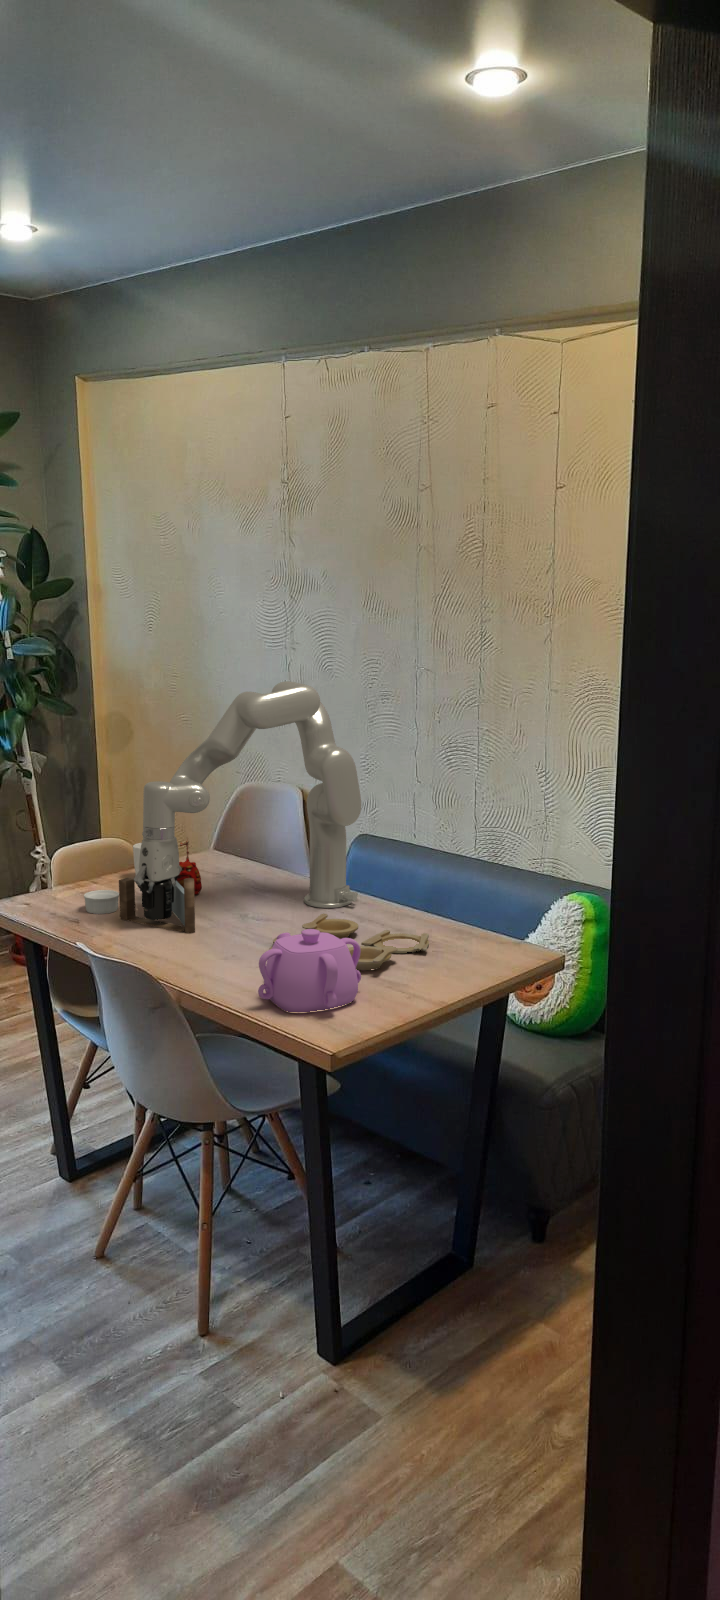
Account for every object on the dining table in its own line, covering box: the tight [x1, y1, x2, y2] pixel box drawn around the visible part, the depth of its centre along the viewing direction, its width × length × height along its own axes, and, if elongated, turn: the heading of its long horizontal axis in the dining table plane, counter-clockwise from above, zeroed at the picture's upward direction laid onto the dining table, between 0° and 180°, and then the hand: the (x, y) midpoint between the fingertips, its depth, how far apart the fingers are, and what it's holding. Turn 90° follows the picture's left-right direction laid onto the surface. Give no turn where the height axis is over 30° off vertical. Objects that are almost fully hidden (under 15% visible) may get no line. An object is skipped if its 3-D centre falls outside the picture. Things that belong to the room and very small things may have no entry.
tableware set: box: [268, 913, 430, 971], centre depth 256 cm, size 35×29×4 cm
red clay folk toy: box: [176, 837, 203, 897], centre depth 300 cm, size 8×7×15 cm
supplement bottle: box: [143, 879, 173, 921], centre depth 272 cm, size 7×7×12 cm
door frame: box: [118, 877, 196, 934], centre depth 272 cm, size 23×3×13 cm, turn 58°
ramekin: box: [83, 889, 119, 915], centre depth 285 cm, size 9×9×4 cm
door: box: [172, 881, 185, 926], centre depth 276 cm, size 17×3×8 cm, turn 22°
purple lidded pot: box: [257, 929, 362, 1013], centre depth 224 cm, size 19×21×14 cm
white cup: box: [132, 842, 142, 876], centre depth 315 cm, size 8×8×10 cm
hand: (157, 904), depth 272 cm, fingers closed on supplement bottle, 6 cm apart
